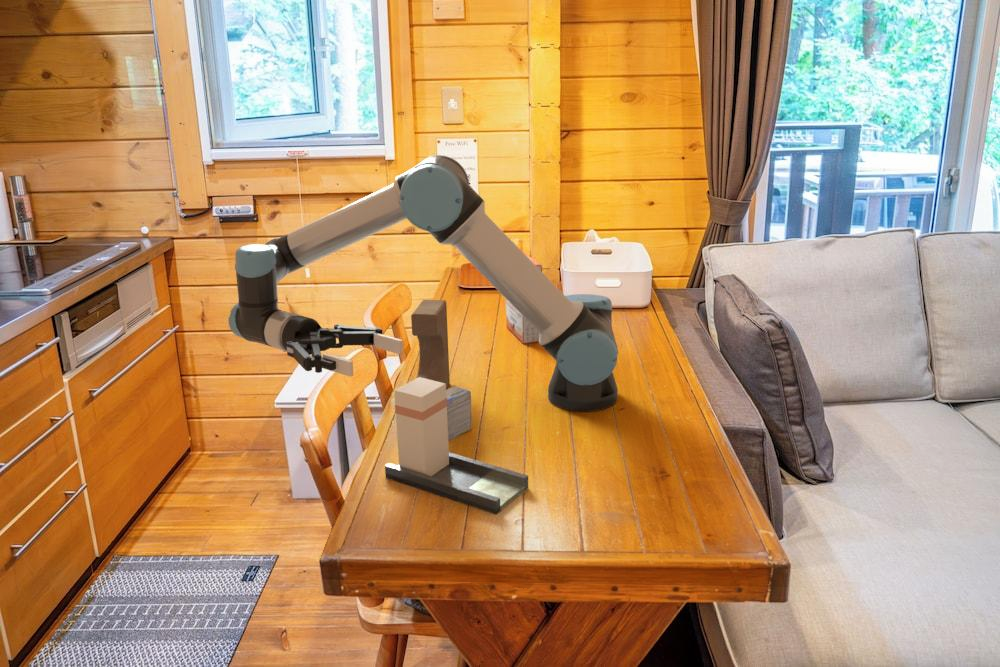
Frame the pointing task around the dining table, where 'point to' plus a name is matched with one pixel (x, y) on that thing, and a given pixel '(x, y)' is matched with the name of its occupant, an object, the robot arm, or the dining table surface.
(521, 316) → the cracker box
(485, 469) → the chute
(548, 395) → the robot arm
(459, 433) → the medicine box
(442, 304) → the decorative block
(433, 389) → the block
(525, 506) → the dining table surface
